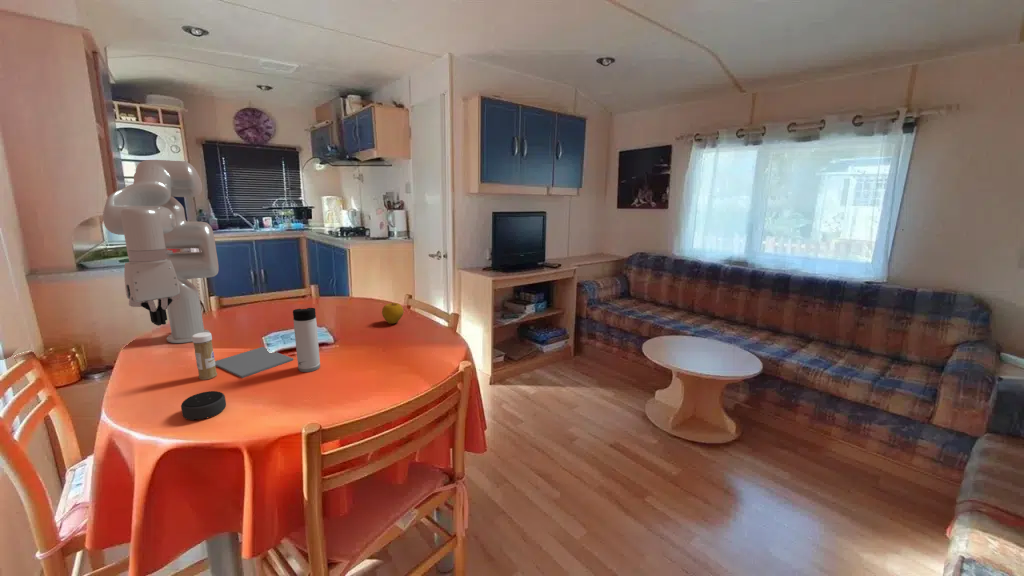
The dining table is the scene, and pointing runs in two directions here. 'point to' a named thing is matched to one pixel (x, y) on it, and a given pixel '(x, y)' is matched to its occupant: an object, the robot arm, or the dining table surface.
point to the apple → (392, 312)
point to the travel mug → (306, 339)
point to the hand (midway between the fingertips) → (159, 324)
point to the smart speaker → (203, 405)
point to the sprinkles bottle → (204, 355)
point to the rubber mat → (252, 362)
